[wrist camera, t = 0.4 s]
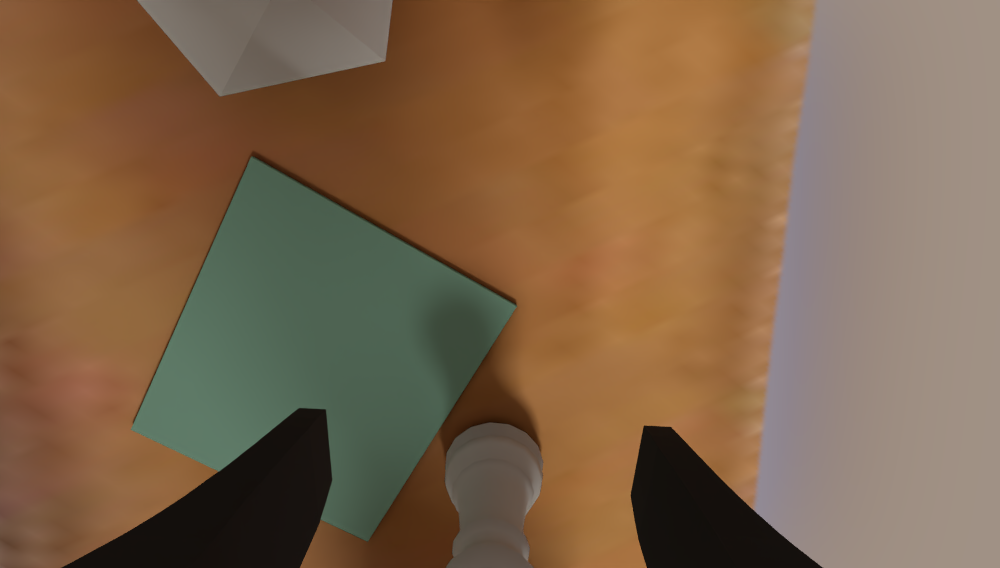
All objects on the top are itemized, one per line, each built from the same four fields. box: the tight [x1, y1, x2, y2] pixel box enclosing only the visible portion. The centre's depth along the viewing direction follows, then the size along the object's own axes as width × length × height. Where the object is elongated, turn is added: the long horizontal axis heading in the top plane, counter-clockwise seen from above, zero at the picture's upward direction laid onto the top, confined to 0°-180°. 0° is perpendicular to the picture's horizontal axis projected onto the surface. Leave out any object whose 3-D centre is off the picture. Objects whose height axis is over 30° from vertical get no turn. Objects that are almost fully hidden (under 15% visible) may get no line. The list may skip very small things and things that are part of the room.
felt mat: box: [131, 156, 517, 542], centre depth 23 cm, size 14×12×1 cm
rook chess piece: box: [445, 422, 543, 568], centre depth 21 cm, size 4×4×8 cm
